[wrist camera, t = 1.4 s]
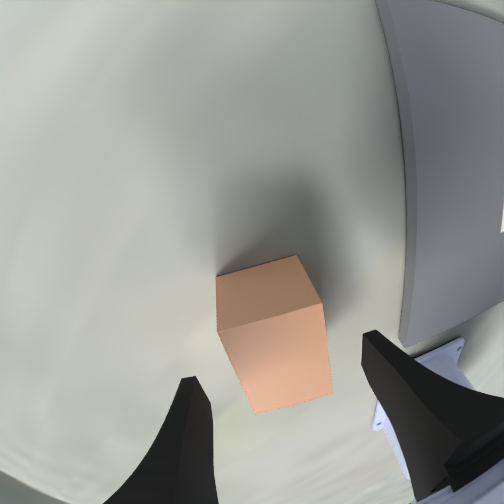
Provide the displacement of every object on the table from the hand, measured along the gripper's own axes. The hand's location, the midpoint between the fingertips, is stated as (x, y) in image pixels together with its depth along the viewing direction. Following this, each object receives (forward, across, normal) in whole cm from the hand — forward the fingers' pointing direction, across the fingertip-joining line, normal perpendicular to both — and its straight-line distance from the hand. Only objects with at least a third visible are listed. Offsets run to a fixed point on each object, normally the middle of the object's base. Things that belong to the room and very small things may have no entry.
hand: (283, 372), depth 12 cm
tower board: (+4, -18, -5) cm, 19 cm away
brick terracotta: (+4, 0, 0) cm, 4 cm away
